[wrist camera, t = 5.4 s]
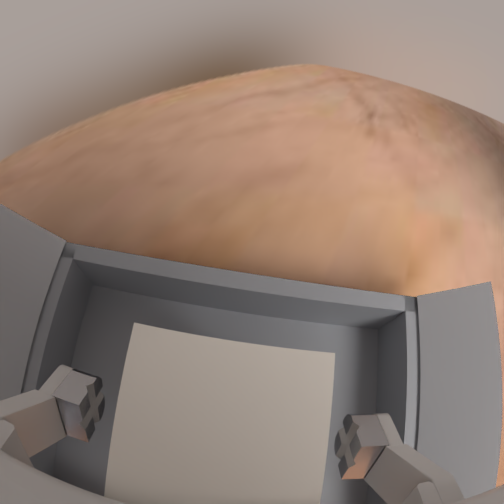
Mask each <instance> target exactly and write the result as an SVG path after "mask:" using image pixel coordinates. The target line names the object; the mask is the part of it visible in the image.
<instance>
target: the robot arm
mask: <svg viewBox="0 0 504 504" xmlns="http://www.w3.org/2000/svg"><path fill="white" fill-rule="evenodd" d="M102 387H103V383H102V379H101V378H100V377H98V376H95V375H92V374H89V373H86V372H83V371H80V370H77V369H73V368H71V367H68V366H65V365H60V366H58V368H57V369H56V370H55V371H54V372H53V374H52V375H51V376H50V377H49V378H48V380H47V381H46V382H45V383H44V384H43V386H42V387H41V388H40V389H39V391H38V390H36V389H34V390H31V391H28V392H26V393H23V394H20V395H16V396H13V397H10V398H7V399H4V400H1V401H0V504H126V503H123V502H120V501H116V500H113V499H110V498H107V497H104V496H101V495H98V494H95V493H92V492H89V491H87V490H84V489H81V488H79V487H76V486H74V485H71V484H69V483H66V482H64V481H62V480H59V479H57V478H55V477H52V476H50V475H48V474H46V473H44V472H41V471H39V470H37V469H35V468H34V466H33V464H32V463H31V461H30V459H29V458H30V457H31V456H33V455H35V454H37V453H38V452H40V451H42V450H44V449H45V448H47V447H49V446H51V445H52V444H54V443H56V442H58V441H59V440H61V439H63V438H64V437H66V435H68V436H70V437H73V438H76V439H79V440H82V441H85V442H89V441H90V439H91V437H92V435H93V433H94V431H95V426H94V423H96V422H98V421H100V420H101V418H102V416H103V412H104V409H105V397H104V395H103V394H102V392H101V391H100V390H101V389H102ZM343 425H344V427H343V428H341V429H340V430H339V431H338V432H337V435H336V437H335V443H334V450H335V455H336V456H337V457H338V458H339V459H340V462H339V464H338V467H339V472H340V476H341V479H363V478H365V479H364V480H365V481H366V482H367V483H368V484H369V485H370V486H371V487H372V488H373V490H374V491H375V492H376V493H377V494H378V495H379V496H380V497H381V498H382V499H383V500H384V501H385V502H386V503H387V504H504V484H503V485H501V486H498V487H496V488H493V489H491V490H488V491H486V492H483V493H480V494H478V495H475V496H472V497H469V498H466V499H465V498H464V496H463V494H462V492H461V490H460V488H459V486H458V484H457V482H456V480H455V478H454V476H453V475H452V474H450V473H449V472H447V471H446V470H444V469H443V468H441V467H440V466H438V465H437V464H435V463H434V462H432V461H431V460H429V459H428V458H426V457H425V456H423V455H422V454H420V453H419V452H418V451H416V450H415V449H413V448H412V447H410V446H409V445H407V444H403V442H402V440H401V438H400V436H399V434H398V432H397V429H396V427H395V425H394V423H393V421H392V419H391V417H390V415H389V414H388V413H377V414H347V415H346V416H345V418H344V420H343Z"/></svg>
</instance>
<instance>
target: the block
mask: <svg viewBox="0 0 504 504" xmlns="http://www.w3.org/2000/svg"><path fill="white" fill-rule="evenodd" d="M334 367H335V353H330V352H319V351H309V350H299V349H291V348H282V347H274V346H266V345H259V344H252V343H245V342H238V341H231V340H225V339H219V338H212V337H206V336H201V335H195V334H189V333H184V332H179V331H173V330H168V329H163V328H158V327H153V326H148V325H144V324H139V323H134V325H133V329H132V334H131V338H130V342H129V347H128V351H127V356H126V360H125V365H124V370H123V375H122V380H121V385H120V390H119V395H118V401H117V406H116V412H115V418H114V424H113V430H112V437H111V443H110V450H109V458H108V465H107V474H106V482H105V492H104V497H107V498H110V499H113V500H116V501H120V502H123V503H126V504H320V500H321V494H322V487H323V480H324V473H325V465H326V457H327V449H328V440H329V430H330V420H331V409H332V396H333V383H334Z"/></svg>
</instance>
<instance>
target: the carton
mask: <svg viewBox="0 0 504 504" xmlns="http://www.w3.org/2000/svg"><path fill="white" fill-rule="evenodd" d="M134 323H139V324H144V325H148V326H153V327H158V328H163V329H168V330H173V331H179V332H184V333H189V334H195V335H201V336H206V337H212V338H219V339H225V340H231V341H238V342H245V343H252V344H259V345H266V346H274V347H282V348H291V349H299V350H309V351H319V352H330V353H335V367H334V383H333V396H332V409H331V420H330V430H329V440H328V449H327V457H326V465H325V473H324V480H323V487H322V494H321V500H320V504H387V503H386V502H385V501H384V500H383V499H382V498H381V497H380V496H379V495H378V494H377V493H376V492H375V491H374V490H373V488H372V487H371V486H370V485H369V484H368V483H367V482H366V481H365V480H364V479H365V478H363V479H341V476H340V472H339V467H338V464H339V462H340V459H339V458H338V457H337V456H336V455H335V450H334V443H335V437H336V435H337V432H338V431H339V430H340V429H341V428H343V427H344V425H343V420H344V418H345V416H346V415H347V414H377V413H388V414H389V415H390V417H391V419H392V421H393V423H394V425H395V427H396V429H397V432H398V434H399V436H400V438H401V440H402V442H403V444H407V445H409V446H410V447H412V448H413V449H415V450H416V451H418V452H419V453H420V454H422V455H423V456H425V457H426V458H428V459H429V460H431V461H432V462H434V463H435V464H437V465H438V466H440V467H441V468H443V469H444V470H446V471H447V472H449V473H450V474H452V475H453V476H454V478H455V480H456V482H457V484H458V486H459V488H460V490H461V492H462V494H463V496H464V498H465V499H466V498H469V497H472V496H475V495H478V494H480V493H483V492H486V491H488V490H491V489H493V488H495V487H496V480H497V473H498V465H499V455H500V444H501V428H502V371H501V355H500V343H499V333H498V325H497V317H496V310H495V303H494V297H493V291H492V286H491V282H486V283H482V284H477V285H472V286H467V287H462V288H457V289H452V290H447V291H442V292H436V293H431V294H425V295H420V296H417V297H410V296H403V295H395V294H387V293H380V292H373V291H365V290H358V289H351V288H344V287H337V286H330V285H323V284H316V283H309V282H302V281H296V280H289V279H282V278H276V277H269V276H263V275H256V274H250V273H243V272H237V271H231V270H224V269H218V268H212V267H206V266H200V265H194V264H188V263H182V262H176V261H170V260H164V259H158V258H152V257H146V256H140V255H135V254H129V253H123V252H118V251H112V250H107V249H101V248H95V247H90V246H85V245H79V244H74V243H68V242H66V240H64V239H62V238H60V237H59V236H57V235H55V234H53V233H51V232H49V231H48V230H46V229H44V228H42V227H40V226H38V225H37V224H35V223H33V222H31V221H30V220H28V219H26V218H24V217H23V216H21V215H19V214H17V213H16V212H14V211H12V210H10V209H9V208H7V207H5V206H4V205H2V204H0V401H1V400H4V399H7V398H10V397H13V396H16V395H20V394H23V393H26V392H28V391H31V390H34V389H36V390H38V391H39V389H40V388H41V387H42V386H43V384H44V383H45V382H46V381H47V380H48V378H49V377H50V376H51V375H52V374H53V372H54V371H55V370H56V369H57V368H58V366H60V365H65V366H68V367H71V368H73V369H77V370H80V371H83V372H86V373H89V374H92V375H95V376H98V377H100V378H101V379H102V383H103V387H102V389H101V390H100V391H101V392H102V394H103V395H104V397H105V409H104V412H103V416H102V418H101V420H100V421H98V422H96V423H94V426H95V431H94V433H93V435H92V437H91V439H90V441H89V442H85V441H82V440H79V439H76V438H73V437H70V436H68V435H66V437H64V438H63V439H61V440H59V441H58V442H56V443H54V444H52V445H51V446H49V447H47V448H45V449H44V450H42V451H40V452H38V453H37V454H35V455H33V456H31V457H30V458H29V459H30V461H31V463H32V464H33V466H34V468H35V469H37V470H39V471H41V472H44V473H46V474H48V475H50V476H52V477H55V478H57V479H59V480H62V481H64V482H66V483H69V484H71V485H74V486H76V487H79V488H81V489H84V490H87V491H89V492H92V493H95V494H98V495H101V496H104V492H105V482H106V474H107V465H108V458H109V450H110V443H111V437H112V430H113V424H114V418H115V412H116V406H117V401H118V395H119V390H120V385H121V380H122V375H123V370H124V365H125V360H126V356H127V351H128V347H129V342H130V338H131V334H132V329H133V325H134Z"/></svg>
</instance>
